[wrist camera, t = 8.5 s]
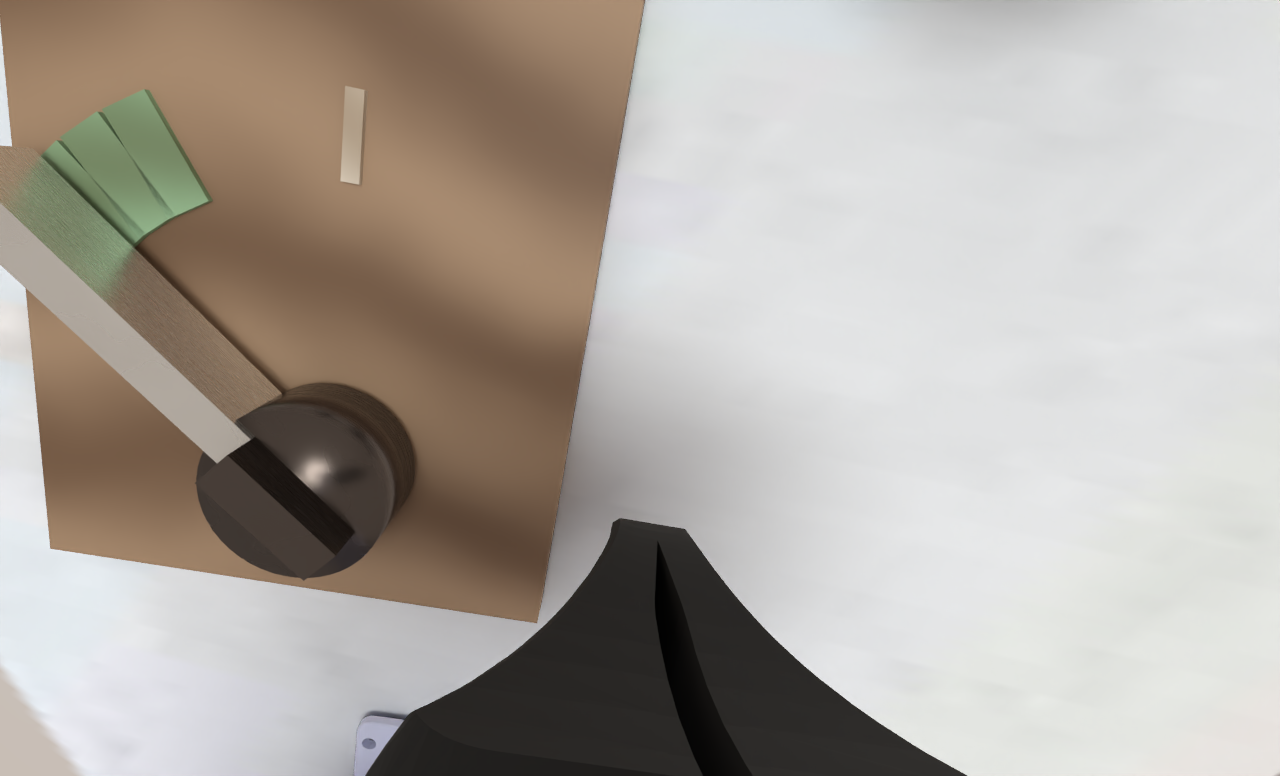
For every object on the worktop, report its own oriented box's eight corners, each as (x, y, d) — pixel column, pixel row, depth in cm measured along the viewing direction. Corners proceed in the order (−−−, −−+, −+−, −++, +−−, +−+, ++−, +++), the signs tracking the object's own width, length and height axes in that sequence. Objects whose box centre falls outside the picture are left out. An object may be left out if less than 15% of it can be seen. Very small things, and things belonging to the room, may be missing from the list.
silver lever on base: (448, 471, 20) (408, 533, 16) (336, 560, 20) (274, 636, 17) (88, 100, 16) (-63, 74, 13) (-28, 224, 17) (-199, 231, 14)
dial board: (541, 601, 23) (536, 627, 21) (81, 529, 22) (44, 551, 20) (648, -22, 17) (649, -40, 16) (27, -162, 16) (-29, -195, 14)
